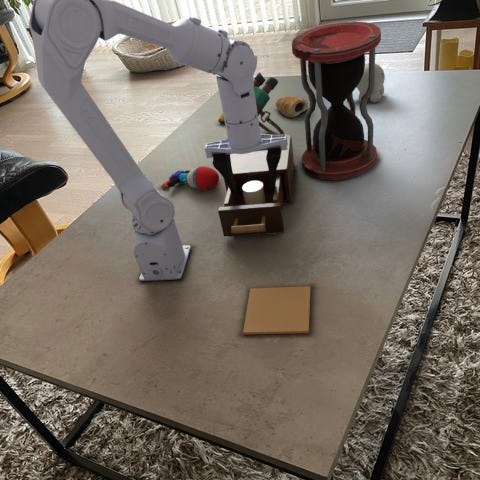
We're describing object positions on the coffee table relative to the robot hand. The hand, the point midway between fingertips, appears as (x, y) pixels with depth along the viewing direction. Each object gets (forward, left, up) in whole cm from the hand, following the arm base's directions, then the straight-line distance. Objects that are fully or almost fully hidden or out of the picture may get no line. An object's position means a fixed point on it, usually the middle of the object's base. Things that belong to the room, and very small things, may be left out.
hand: (253, 187), depth 92 cm
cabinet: (+11, 0, -7) cm, 13 cm away
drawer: (-2, 0, -6) cm, 6 cm away
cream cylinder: (0, 0, -5) cm, 5 cm away
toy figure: (+14, +16, -7) cm, 23 cm away
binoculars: (+31, +4, -7) cm, 32 cm away
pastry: (+48, -4, -7) cm, 49 cm away
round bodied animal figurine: (+51, -22, -7) cm, 56 cm away
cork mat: (-27, -6, -7) cm, 28 cm away
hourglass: (+19, -16, -7) cm, 26 cm away
